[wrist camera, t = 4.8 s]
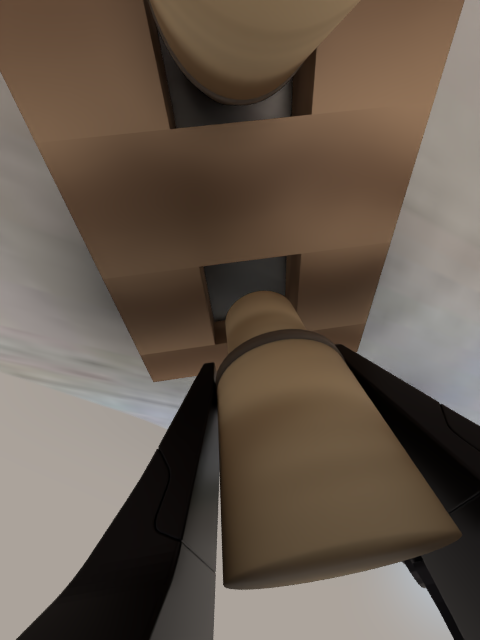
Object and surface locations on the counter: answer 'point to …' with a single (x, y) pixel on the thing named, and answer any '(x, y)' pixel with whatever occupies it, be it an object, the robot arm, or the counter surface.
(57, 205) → the counter surface
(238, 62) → the brown block with openings
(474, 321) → the counter surface
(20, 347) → the counter surface
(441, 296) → the counter surface
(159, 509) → the robot arm
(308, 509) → the oak leg
